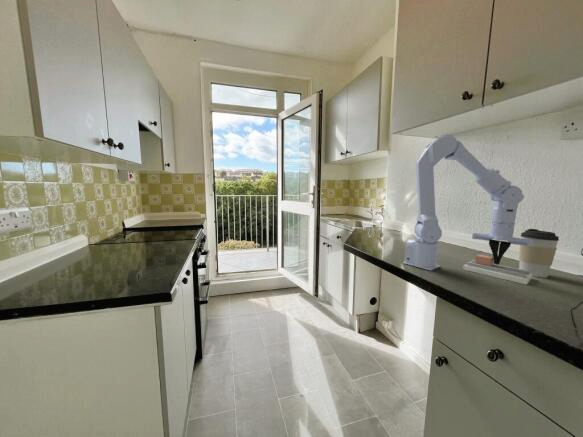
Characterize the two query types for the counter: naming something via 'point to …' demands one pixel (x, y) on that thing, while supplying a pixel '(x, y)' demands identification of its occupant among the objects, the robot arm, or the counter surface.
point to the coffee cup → (538, 252)
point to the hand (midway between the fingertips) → (496, 263)
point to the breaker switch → (484, 260)
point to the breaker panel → (500, 272)
